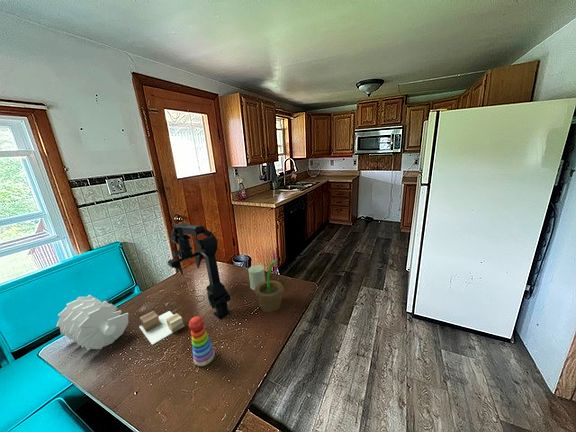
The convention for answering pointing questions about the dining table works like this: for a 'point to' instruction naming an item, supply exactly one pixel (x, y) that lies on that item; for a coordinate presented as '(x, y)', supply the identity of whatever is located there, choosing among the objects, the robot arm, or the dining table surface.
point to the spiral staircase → (92, 322)
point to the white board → (158, 329)
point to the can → (256, 275)
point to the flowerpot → (270, 291)
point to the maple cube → (175, 322)
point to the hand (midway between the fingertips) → (190, 271)
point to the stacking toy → (200, 342)
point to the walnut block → (150, 321)
